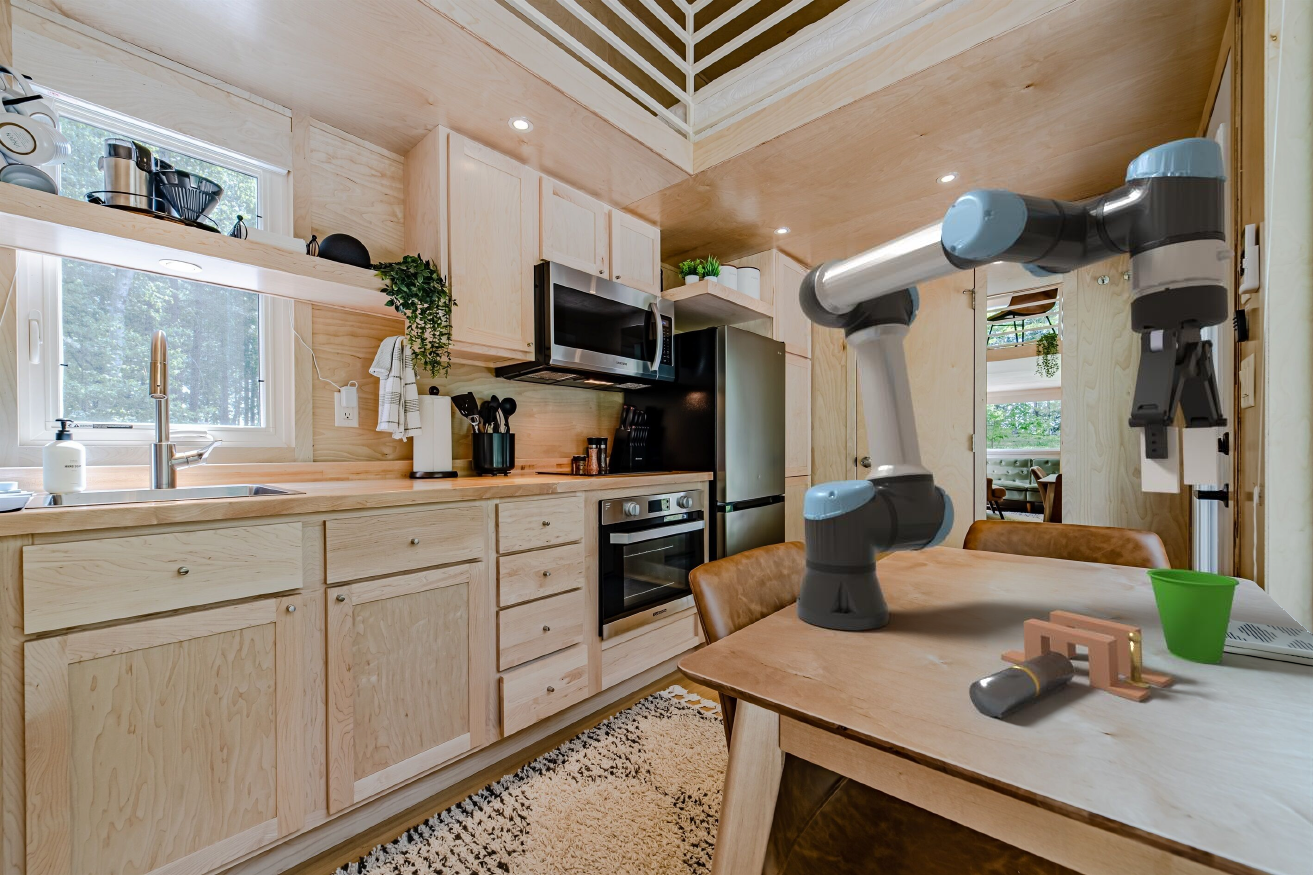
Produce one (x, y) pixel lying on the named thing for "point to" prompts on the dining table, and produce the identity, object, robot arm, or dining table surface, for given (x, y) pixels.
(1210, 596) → the cup
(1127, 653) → the collar
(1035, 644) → the collar
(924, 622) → the dining table surface
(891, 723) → the dining table surface
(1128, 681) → the pointer post
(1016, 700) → the tube
